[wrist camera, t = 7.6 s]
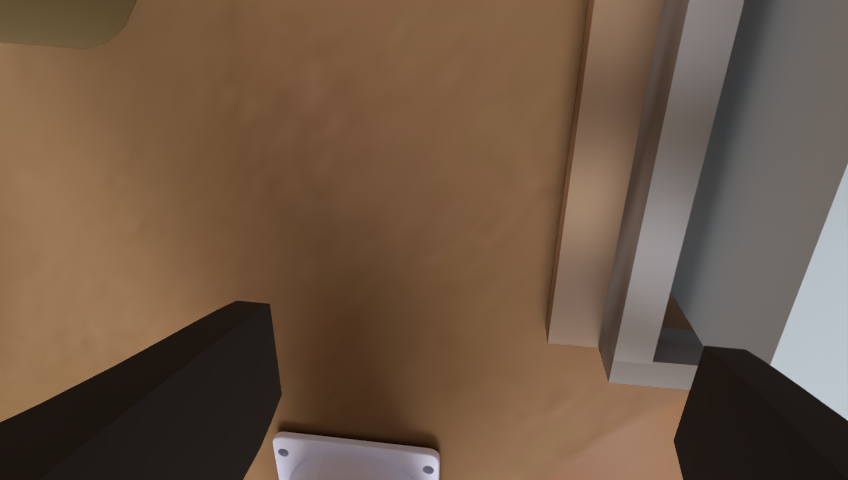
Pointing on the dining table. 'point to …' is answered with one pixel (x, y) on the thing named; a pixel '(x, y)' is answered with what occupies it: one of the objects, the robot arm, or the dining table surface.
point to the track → (637, 182)
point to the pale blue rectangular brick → (777, 200)
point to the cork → (62, 21)
